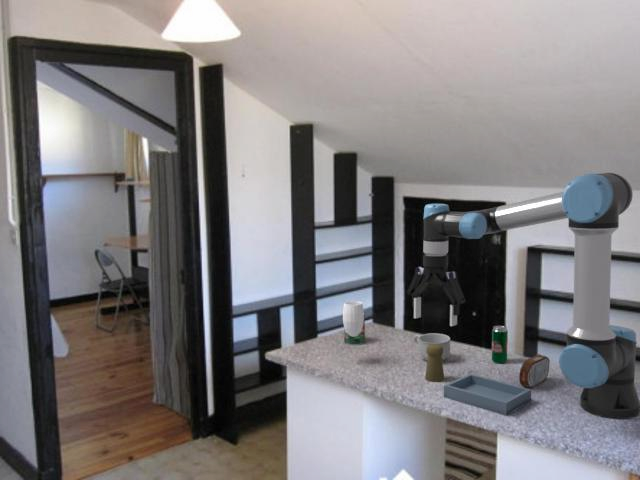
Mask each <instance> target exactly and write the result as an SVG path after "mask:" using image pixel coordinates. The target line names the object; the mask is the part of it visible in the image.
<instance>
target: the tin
mask: <svg viewBox="0 0 640 480" xmlns="http://www.w3.org/2000/svg"><path fill="white" fill-rule="evenodd" d="M550 361H551V360H550V358H549V357H547V356H546V355H542V354H540V353H539V354H536V355H534V356H532V357H529V358H527V359H525V361H524V362H523V363H522V365H521V367H520V371H519V375H518V376H519V377H518V379H519V380H518V381H519V384H520V386H521V387H524V388H528V389H531V388H534V387H535V386H537V385H539V384H541V383H543V382H544V381H545V380H546V379H547V378H548V375H549V372H550V363H551V362H550Z"/></svg>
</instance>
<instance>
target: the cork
mask: <svg viewBox="0 0 640 480" xmlns="http://www.w3.org/2000/svg"><path fill="white" fill-rule="evenodd" d="M427 354H428V361H426V369H425V370H426V371H425V376H424V379H425V380H426V382H431V383H441V382H443V381H445V373H444V367H443V366H444V365H443V361H442V354H443V347H442V346H441V345H438V344H431V345H428V347H427Z"/></svg>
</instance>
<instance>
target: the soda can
mask: <svg viewBox="0 0 640 480" xmlns="http://www.w3.org/2000/svg"><path fill="white" fill-rule="evenodd" d="M492 328H493V329H492V330H491V361H492V362H493V363H496V364H505V363H507V361H508V344H509V343H508V336H509V335H508V334H509V333H508V328H507V326H504V325H493V327H492Z"/></svg>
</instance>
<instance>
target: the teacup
mask: <svg viewBox="0 0 640 480" xmlns="http://www.w3.org/2000/svg"><path fill="white" fill-rule="evenodd" d="M417 338H418V339H417ZM417 340H418V341H417ZM412 341H413V343H414V345H415V347H417V348H418V351H419V353H418V354H419V355H420V357H421V358H423V359H424V361H426V362H427V361H428V354H427V347H428V345H431V344H438V345H441V346H442V347H443V354H442V362H444V361H445V360H446V359H447V358H448V357H449V356H450V352H451V350H450V349H451V337H450V336H449V335H447V334H443V333H437V332H436V333H435V332H433V333H432V332H431V333H425V334H415V335H414V336H413V338H412Z"/></svg>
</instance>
